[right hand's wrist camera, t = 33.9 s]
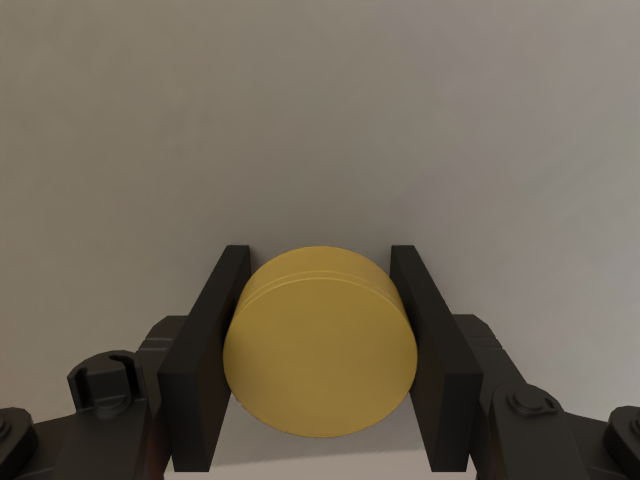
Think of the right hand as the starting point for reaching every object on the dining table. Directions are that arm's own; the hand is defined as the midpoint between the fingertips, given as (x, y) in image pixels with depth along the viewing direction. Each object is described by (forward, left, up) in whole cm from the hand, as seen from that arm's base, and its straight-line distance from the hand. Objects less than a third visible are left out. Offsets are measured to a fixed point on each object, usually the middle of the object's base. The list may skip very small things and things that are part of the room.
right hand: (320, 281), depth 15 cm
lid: (0, 0, +4) cm, 4 cm away
